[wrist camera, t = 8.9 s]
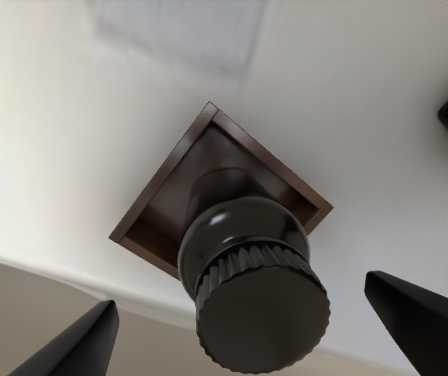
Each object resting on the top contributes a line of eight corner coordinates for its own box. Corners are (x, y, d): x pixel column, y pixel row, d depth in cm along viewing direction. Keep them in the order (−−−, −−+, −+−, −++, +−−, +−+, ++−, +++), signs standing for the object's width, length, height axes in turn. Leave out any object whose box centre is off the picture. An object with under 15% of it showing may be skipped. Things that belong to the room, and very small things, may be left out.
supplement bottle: (219, 254, 20) (238, 424, 9) (171, 199, 18) (113, 318, 7) (280, 211, 19) (390, 332, 8) (237, 150, 18) (295, 190, 6)
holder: (308, 192, 20) (334, 207, 16) (229, 280, 22) (234, 314, 18) (208, 107, 17) (209, 100, 13) (128, 215, 19) (107, 238, 15)
